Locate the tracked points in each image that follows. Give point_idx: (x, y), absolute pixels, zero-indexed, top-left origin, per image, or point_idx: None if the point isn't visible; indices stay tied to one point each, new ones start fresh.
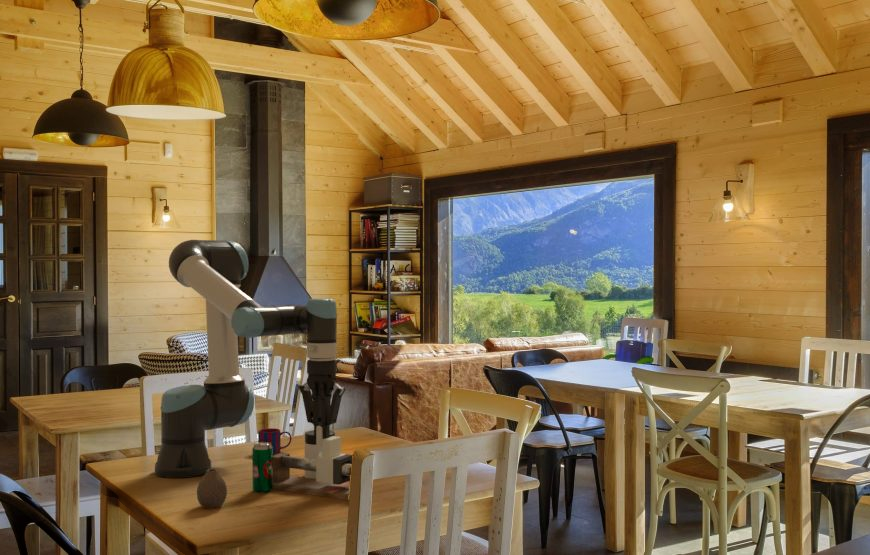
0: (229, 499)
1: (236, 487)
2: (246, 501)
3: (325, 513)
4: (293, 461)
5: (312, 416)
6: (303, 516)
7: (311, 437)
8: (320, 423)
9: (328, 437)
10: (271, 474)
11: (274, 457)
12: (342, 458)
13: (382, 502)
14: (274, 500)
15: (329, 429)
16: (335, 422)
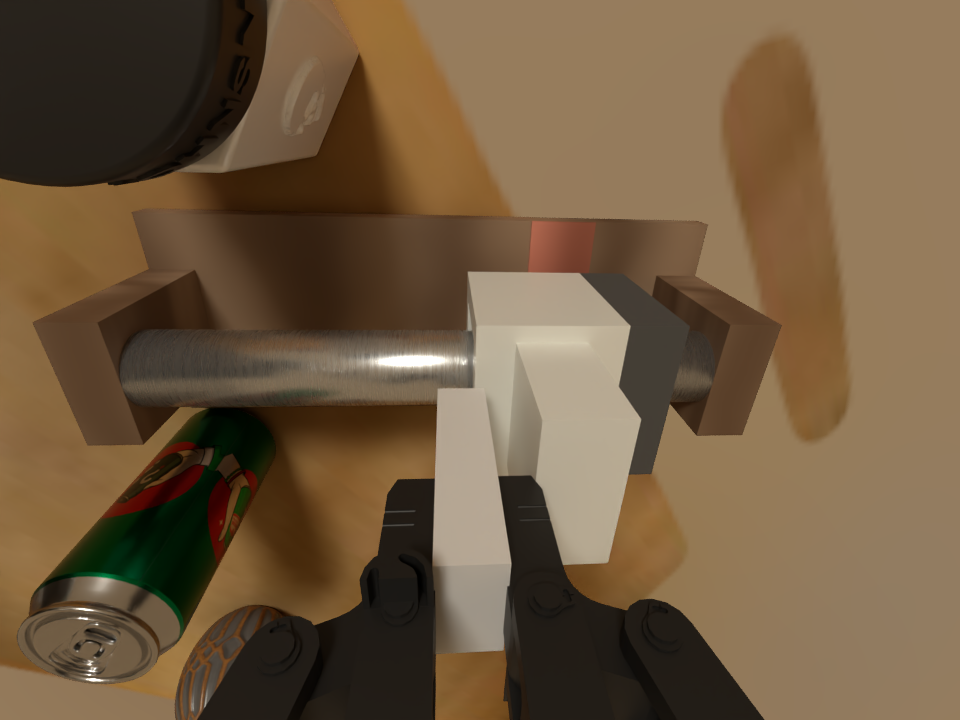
0: (232, 558)
1: (88, 446)
2: (304, 550)
3: (628, 534)
4: (255, 405)
5: (245, 716)
6: (578, 576)
7: (78, 185)
8: (434, 621)
9: (534, 489)
10: (247, 484)
11: (113, 443)
12: (654, 440)
13: (788, 360)
14: (381, 506)
15: (556, 545)
16: (675, 621)
